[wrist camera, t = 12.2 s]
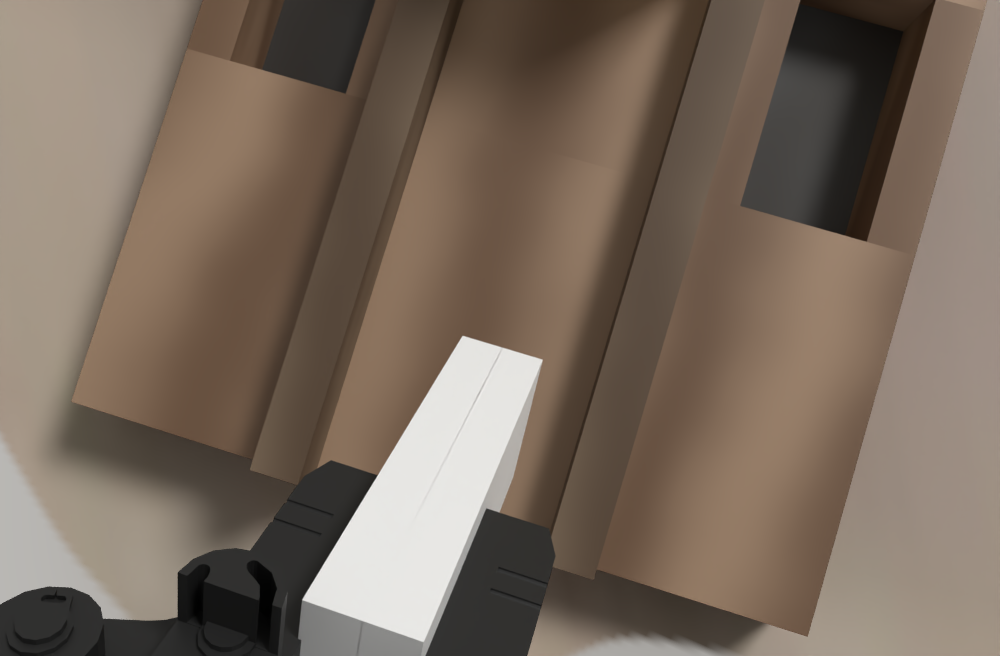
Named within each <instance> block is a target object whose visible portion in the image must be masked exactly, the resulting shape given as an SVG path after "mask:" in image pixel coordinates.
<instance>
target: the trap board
mask: <svg viewBox="0 0 1000 656" xmlns="http://www.w3.org/2000/svg"><path fill="white" fill-rule="evenodd" d="M986 3H987V0H203V1H202V4H201V7H200V10H199V13H198V16H197V19H196V22H195V25H194V28H193V32H192V35H191V38H190V41H189V44H188V47H187V50H186V53H185V56H184V59H183V62H182V65H181V68H180V71H179V74H178V77H177V80H176V83H175V86H174V89H173V93H172V96H171V99H170V102H169V105H168V108H167V111H166V114H165V117H164V120H163V123H162V126H161V129H160V132H159V135H158V138H157V141H156V144H155V147H154V150H153V154H152V157H151V160H150V163H149V166H148V169H147V172H146V175H145V178H144V181H143V184H142V187H141V190H140V193H139V196H138V199H137V202H136V205H135V208H134V211H133V215H132V218H131V221H130V224H129V227H128V230H127V233H126V236H125V239H124V242H123V245H122V248H121V251H120V254H119V257H118V260H117V263H116V266H115V269H114V272H113V276H112V279H111V282H110V285H109V288H108V291H107V294H106V297H105V300H104V303H103V306H102V309H101V312H100V315H99V318H98V321H97V324H96V327H95V330H94V333H93V337H92V340H91V343H90V346H89V349H88V352H87V355H86V358H85V361H84V364H83V367H82V370H81V373H80V376H79V379H78V382H77V385H76V388H75V391H74V394H73V398H72V401H71V402H74V403H77V404H80V405H83V406H86V407H89V408H93V409H96V410H99V411H102V412H105V413H108V414H111V415H114V416H118V417H121V418H124V419H127V420H130V421H133V422H136V423H140V424H143V425H146V426H149V427H152V428H155V429H158V430H161V431H165V432H168V433H171V434H174V435H177V436H180V437H183V438H187V439H190V440H193V441H196V442H199V443H202V444H205V445H208V446H212V447H215V448H218V449H221V450H224V451H227V452H230V453H234V454H237V455H240V456H243V457H246V458H249V459H252V460H253V461H252V464H251V467H250V470H251V471H254V472H257V473H261V474H264V475H267V476H270V477H273V478H276V479H279V480H282V481H285V482H289V483H292V484H295V485H298V484H299V483H300V481H301V480H302V479H303V477H304V476H305V475H307V474H309V473H310V472H312V471H314V470H315V469H317V468H319V467H320V466H322V465H324V464H325V463H327V462H329V461H330V460H332V461H335V462H338V463H341V464H345V465H348V466H351V467H354V468H357V469H360V470H363V471H366V472H369V473H372V474H375V475H378V474H379V473H380V471H381V469H382V468H383V466H384V464H385V463H386V461H387V459H388V458H389V456H390V454H391V453H392V451H393V450H394V448H395V446H396V445H397V443H398V441H399V440H400V438H401V436H402V435H403V433H404V431H405V430H406V428H407V426H408V425H409V423H410V422H411V420H412V418H413V417H414V415H415V413H416V412H417V410H418V408H419V407H420V405H421V403H422V402H423V400H424V399H425V397H426V395H427V394H428V392H429V390H430V389H431V387H432V385H433V384H434V382H435V380H436V379H437V377H438V375H439V374H440V372H441V371H442V369H443V367H444V366H445V364H446V362H447V361H448V359H449V357H450V356H451V354H452V352H453V351H454V349H455V347H456V346H457V344H458V343H459V341H460V339H461V338H462V336H465V337H469V338H472V339H475V340H479V341H482V342H485V343H489V344H492V345H495V346H499V347H502V348H505V349H509V350H512V351H515V352H519V353H522V354H525V355H529V356H532V357H535V358H539V359H542V360H543V361H542V365H541V369H540V373H539V377H538V381H537V385H536V389H535V393H534V397H533V401H532V405H531V409H530V413H529V417H528V421H527V425H526V428H525V432H524V436H523V440H522V444H521V448H520V452H519V456H518V460H517V464H516V468H515V472H514V476H513V479H512V481H511V484H510V487H509V489H508V492H507V494H506V497H505V499H504V502H503V504H502V507H501V510H500V513H503V514H506V515H509V516H512V517H515V518H518V519H521V520H524V521H527V522H530V523H534V524H537V525H540V526H543V527H546V528H549V530H550V535H551V539H552V543H553V547H554V551H555V556H556V557H555V560H554V564H553V567H554V568H557V569H560V570H564V571H567V572H570V573H573V574H576V575H579V576H582V577H585V578H589V579H592V580H594V577H595V574H596V570H600V571H603V572H606V573H610V574H613V575H616V576H619V577H622V578H625V579H628V580H632V581H635V582H638V583H641V584H644V585H647V586H650V587H653V588H657V589H660V590H663V591H666V592H669V593H672V594H675V595H679V596H682V597H685V598H688V599H691V600H694V601H697V602H701V603H704V604H707V605H710V606H713V607H716V608H719V609H722V610H726V611H729V612H732V613H735V614H738V615H741V616H744V617H748V618H751V619H754V620H757V621H760V622H763V623H766V624H769V625H773V626H776V627H779V628H782V629H785V630H788V631H791V632H795V633H798V634H801V635H804V636H807V637H808V633H809V630H810V626H811V623H812V619H813V616H814V612H815V609H816V605H817V601H818V598H819V594H820V591H821V587H822V584H823V580H824V577H825V573H826V570H827V566H828V562H829V559H830V555H831V552H832V548H833V545H834V541H835V538H836V534H837V531H838V527H839V523H840V520H841V516H842V513H843V509H844V506H845V502H846V499H847V495H848V492H849V488H850V485H851V481H852V477H853V474H854V470H855V467H856V463H857V460H858V456H859V453H860V449H861V446H862V442H863V438H864V435H865V431H866V428H867V424H868V421H869V417H870V414H871V410H872V407H873V403H874V400H875V396H876V392H877V389H878V385H879V382H880V378H881V375H882V371H883V368H884V364H885V361H886V357H887V353H888V350H889V346H890V343H891V339H892V336H893V332H894V329H895V325H896V322H897V318H898V314H899V311H900V307H901V304H902V300H903V297H904V293H905V290H906V286H907V283H908V279H909V276H910V272H911V268H912V265H913V261H914V258H915V254H916V251H917V247H918V244H919V240H920V237H921V233H922V229H923V226H924V222H925V219H926V215H927V212H928V208H929V205H930V201H931V198H932V194H933V190H934V187H935V183H936V180H937V176H938V173H939V169H940V166H941V162H942V159H943V155H944V152H945V148H946V144H947V141H948V137H949V134H950V130H951V127H952V123H953V120H954V116H955V113H956V109H957V105H958V102H959V98H960V95H961V91H962V88H963V84H964V81H965V77H966V74H967V70H968V66H969V63H970V59H971V56H972V52H973V49H974V45H975V42H976V38H977V35H978V31H979V28H980V24H981V20H982V17H983V13H984V10H985V6H986Z"/></svg>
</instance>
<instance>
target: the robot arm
mask: <svg viewBox="0 0 1000 656" xmlns="http://www.w3.org/2000/svg"><path fill="white" fill-rule="evenodd" d="M542 361H543V360H542V359H539V358H535V357H532V356H529V355H525V354H522V353H519V352H515V351H512V350H509V349H505V348H502V347H499V346H495V345H492V344H489V343H485V342H482V341H479V340H475V339H472V338H469V337H465V336H462V338H461V339H460V341H459V343H458V344H457V346H456V347H455V349H454V351H453V352H452V354H451V356H450V357H449V359H448V361H447V362H446V364H445V366H444V367H443V369H442V371H441V372H440V374H439V375H438V377H437V379H436V380H435V382H434V384H433V385H432V387H431V389H430V390H429V392H428V394H427V395H426V397H425V399H424V400H423V402H422V403H421V405H420V407H419V408H418V410H417V412H416V413H415V415H414V417H413V418H412V420H411V422H410V423H409V425H408V426H407V428H406V430H405V431H404V433H403V435H402V436H401V438H400V440H399V441H398V443H397V445H396V446H395V448H394V450H393V451H392V453H391V454H390V456H389V458H388V459H387V461H386V463H385V464H384V466H383V468H382V469H381V471H380V473H379V474H378V475H375V474H372V473H369V472H366V471H363V470H360V469H357V468H354V467H351V466H348V465H345V464H341V463H338V462H335V461H332V460H330V461H329V462H327V463H325V464H324V465H322V466H320V467H319V468H317V469H315V470H314V471H312V472H310V473H309V474H307V475H305V476H304V477H303V479H302V480H301V481H300V483H299V484H298V485H297V487H296V488H295V490H294V491H293V492H292V494H291V495H290V496H289V498H288V500H287V503H286V504H285V503H284V505H283V506H282V507H281V509H280V510H279V512H278V513H277V514H276V516H275V517H274V520H273V522H272V523H270V524H269V525H268V527H267V528H266V530H265V531H264V532H263V534H262V535H261V536H260V538H259V539H258V541H257V542H256V543H255V545H254V546H253V548H252V549H251V550H250V551H249V550H243V549H237V548H233V549H224V550H215V551H212V552H209V553H207V554H204V555H202V556H199V557H197V558H195V559H193V560H192V561H190V562H189V563H188V564H187V565H186V566H185V567H183V568H182V569H181V570H180V571H179V572H178V617H177V618H172V619H168V620H156V621H140V620H120V619H103V618H102V612H101V608H100V607H99V605H98V604H97V603H96V602H95V601H94V600H93V599H92V598H91V597H90V596H89V595H88V594H85V593H83V592H80V591H77V590H75V589H73V588H66V587H45V588H40V589H36V590H31V591H27V592H24V593H22V594H20V595H18V596H16V597H14V598H12V599H10V600H8V601H6V602H4V603H2V604H1V605H0V656H527V655H528V651H529V648H530V644H531V641H532V637H533V634H534V630H535V627H536V623H537V620H538V616H539V613H540V609H541V606H542V602H543V599H544V595H545V592H546V588H547V585H548V581H549V578H550V574H551V571H552V567H553V564H554V560H555V557H556V556H555V551H554V547H553V543H552V539H551V535H550V530H549V528H546V527H543V526H540V525H537V524H534V523H530V522H527V521H524V520H521V519H518V518H515V517H512V516H509V515H506V514H503V513H500V510H501V507H502V504H503V502H504V499H505V497H506V494H507V492H508V489H509V487H510V484H511V481H512V479H513V476H514V472H515V468H516V464H517V460H518V456H519V452H520V448H521V444H522V440H523V436H524V432H525V428H526V425H527V421H528V417H529V413H530V409H531V405H532V401H533V397H534V393H535V389H536V385H537V381H538V377H539V373H540V369H541V365H542Z"/></svg>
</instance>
